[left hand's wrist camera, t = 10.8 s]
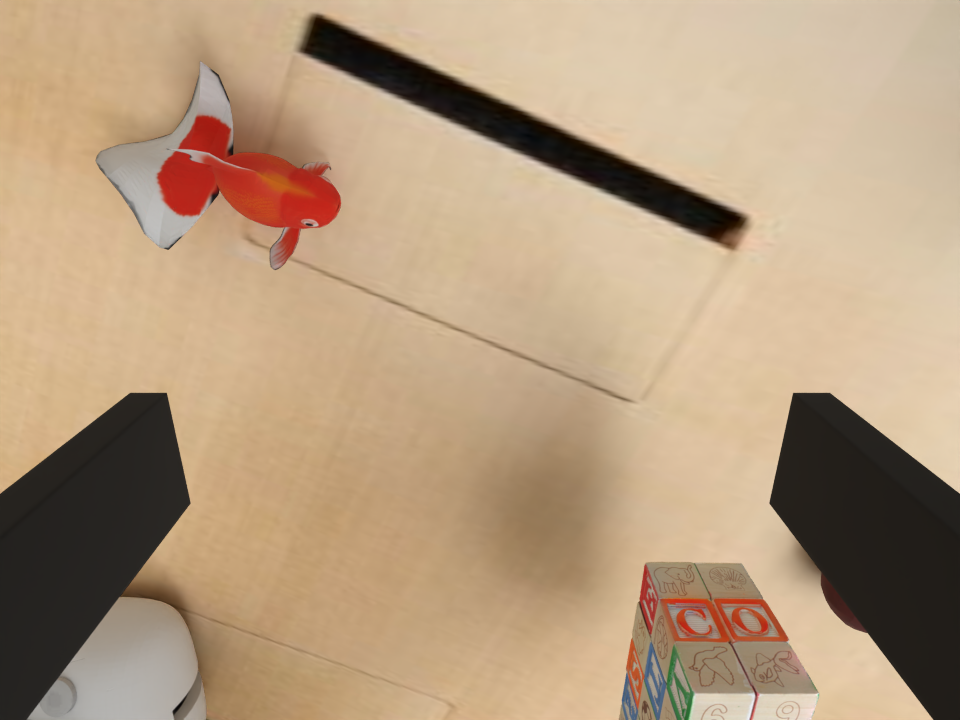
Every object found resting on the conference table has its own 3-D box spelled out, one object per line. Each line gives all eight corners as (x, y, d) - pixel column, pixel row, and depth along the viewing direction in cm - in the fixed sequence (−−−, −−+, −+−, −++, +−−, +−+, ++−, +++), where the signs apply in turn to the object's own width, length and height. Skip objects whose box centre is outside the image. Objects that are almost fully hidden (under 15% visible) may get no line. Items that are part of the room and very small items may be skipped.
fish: (299, 337, 40) (203, 301, 30) (143, 222, 43) (13, 157, 34) (391, 205, 40) (325, 126, 30) (227, 102, 44) (122, 2, 34)
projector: (53, 503, 50) (-105, 645, 37) (276, 641, 56) (211, 808, 42) (-59, 648, 56) (-231, 816, 43) (153, 759, 62) (61, 938, 48)
